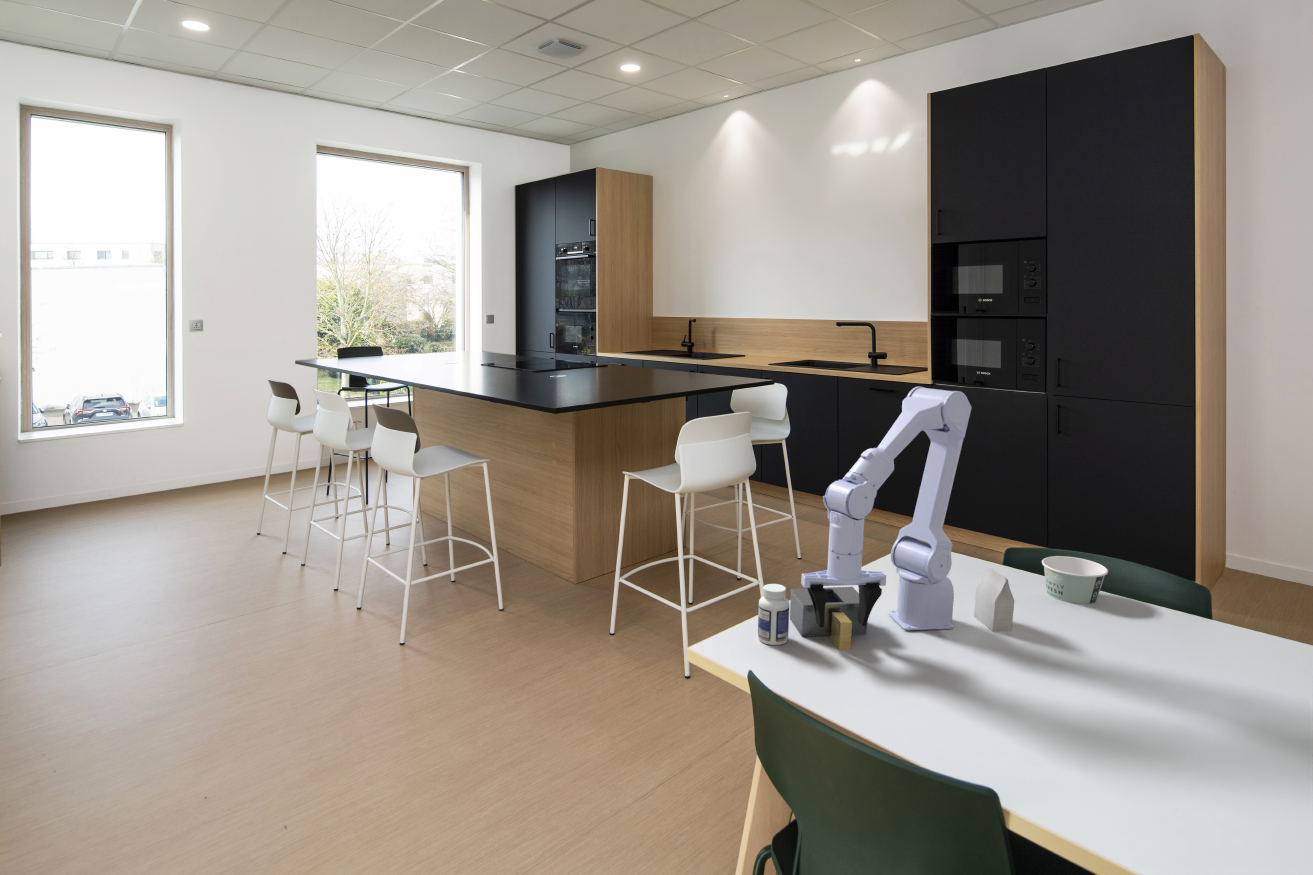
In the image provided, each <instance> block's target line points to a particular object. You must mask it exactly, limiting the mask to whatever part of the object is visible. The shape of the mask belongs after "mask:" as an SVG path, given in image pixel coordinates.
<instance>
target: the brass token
mask: <svg viewBox="0 0 1313 875" xmlns="http://www.w3.org/2000/svg"><path fill="white" fill-rule="evenodd" d="M851 632H852V622H851V620H850V619H849V618H848V617H847V616H846V615H845V614H844V612H832V626H831V636H830V639H831V641H832V642H833V643H834V645H835V646H836V648H837V649H838V650H839V651H840V650H841V651H843V650H844V651H845V650H851V648H852V635H851Z"/></svg>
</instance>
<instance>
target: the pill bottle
mask: <svg viewBox="0 0 1313 875" xmlns="http://www.w3.org/2000/svg"><path fill="white" fill-rule="evenodd" d="M762 595H763V596H761V597H760V599H759V600H758V614H757V615H758V617H757V618H758V619H757V638H758V640H759V641H760V642H761V643H763V644H766V645H771V646H779V645H783V644H786V643H787V641H788V640H789V625H790V623H789V622H790V601H789V599H788V598H786V595H787V588H786V586H785V585H782V584H778V583H768V584H765V585H763V588H762Z"/></svg>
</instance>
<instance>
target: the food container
mask: <svg viewBox="0 0 1313 875" xmlns="http://www.w3.org/2000/svg"><path fill="white" fill-rule="evenodd" d="M1041 564H1042V566H1043V569H1044V570H1043V572H1044V581H1045V590H1046V594H1047V595H1048V596H1049V597H1051V598H1053V599H1055V600H1058V601H1061V602H1065V603H1070V604H1077V605H1090V604H1094V603H1096V602H1097V600H1098V598H1099V596H1100V592H1101V589H1102V586H1103V582H1104V579H1105V576H1106V575H1108V573H1109V569H1108V568H1106V567H1105V566H1104V565H1103V564H1101V563H1098V562H1096V561H1093V560H1089V559H1086V558H1081V557H1073V556H1061V555H1055V556H1053V555H1052V556H1048V557H1045V558H1043V559H1042V560H1041Z"/></svg>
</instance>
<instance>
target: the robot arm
mask: <svg viewBox="0 0 1313 875" xmlns="http://www.w3.org/2000/svg"><path fill="white" fill-rule="evenodd" d="M901 403H902V405H901V413H900V414H899V416H898V417H897V419H896V420H895V421H894V423H892V426H891V427H890V429H889V430H888V431H887V433H886V434H885V436H884V437H883V439H882V440H881V442H880V443H879V444H878V446H877V447H873V448H872V447H871V448H868V449H866V450H864V451H863V452H862V453H861V454H860V457H859V458H858V459H857V461H856V462H855V463H854V465H852V467H851V468H849V471H848V472H847V473H845V475H844V477H843V478H842V479H838V480H834V481H833V482H832V483H831V484H829V486H828V487H827V488H826V491H825V494H824V495H823V496H822V501H823V505H824V507H825V508H826V510H827V519H828V521H829V532H828V552H827V569H825V570H819V571H813V572H809V573H808V572H806V573H801V578H800V580H801V581H800V584H801V586H802V587H803V588H807V590H808V592H809V595H810V597H811V600H812V603H813V606H814V610H815V615H816V623H817V624H818V626H819V627H824V620H825V605H826V599H827V596H828V595H827V594H826V592H825V588H826V587H829V586H831V587H840V586H858V593H859V611H858V621H859V623H860V624H861V625H862V626H866V625H867V626H868V621H869V618H870V614H871V613H872V610H873V608H874V606H875V604H876V602H877V601H878V600H879V599H880V597H881V596H882V594H883V589H882V588H881V587H884V586H886V584H887V575H886V574H885V573H884V572H883V571H874V570H873V571H872V570H862V566H863V565H862V563H863V562H862V560H863V550H864V549H863V547H864V532H865V530H864V529H865V517H867V515H868V514H870V513H871V512H872V509H873V507H874V503H875V499H876V497H877V494H878V490H879V489H880V488H881V486H883V484H884V483H885V481H886V480H887V479H888V478H889V477H890V476H891V474H892V473H893V472H894V470H895V464H894V463H895V460H894V459H896V458H897V457H898V456H899V454H900V453H902V451H903V450H904V449H906V447H907V446H909V444H910V443H911V442H912V441H913V440H914V439H915V438H916V437H917V436H918V435H919V434H920V433H921V432H922V431H923V432H925V435H927V437H928V438H929V440H930V445H929V449H928V453H927V458H926V462H925V465H924V466H925V467H924V471H923V474H922V479H921V484H920V487H919V491H918V496H917V500H916V505H915V509H914V513H913V518H912V522H910V523H909V524H907V525H905V526H904V527H903V526H902V528H900V529H899V531H898V535H897V538H896V540H895V541H894V543H893V545H892V548H891V551H890V559H891V560H890V561H891V563H892V565H893V566H894V567H896V573H897V574H899V575H898V588H897V590H898V591H897V601H896V602H897V604H896V610H889V611H888V615H889V616H890V617H891V618H892V619H893V620H894V621H895V622H896V623H897V624H898V625H899V626H900V627H901V628H902V629H903V630H905V631H922V630H923V631H924V630H925V631H927V630H947V629H948V630H949V629H950V630H951V629H954V627H955V626H954V625H953V614H954V612H953V611H954V597H955V593H954V591H955V590H954V586H953V582H952V580H951V579H950V578H949V577H948V575H949V573H950V571H951V569H952V564H953V562H952V549H953V545H954V544H953V542H952V541H951V539H950V538H949V536H947V534H946V533H945V531H944V530H943V527H944V523H945V519H946V515H947V514H946V513H947V511H948V507H949V502H950V498H951V493H952V489H953V484H954V481H955V476H956V471H957V468H958V463H959V459H960V455H961V451H962V446H963V442H964V439H965V437H966V432H967V428H968V424H969V419H970V417H971V411H972V408H973V407H972V405H971V404H970V401H969V400H968V397H967V396H966V394H965V393H964V392H963V391H959V390H944V389H936V388H927V387H924V386H915V387H913V388H912V389H911V390H909V392H908V394H907V396H906V397H905V398H904V399H902V402H901Z"/></svg>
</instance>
